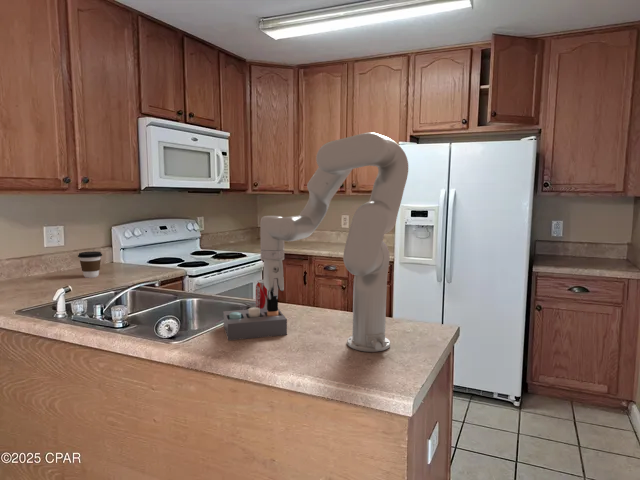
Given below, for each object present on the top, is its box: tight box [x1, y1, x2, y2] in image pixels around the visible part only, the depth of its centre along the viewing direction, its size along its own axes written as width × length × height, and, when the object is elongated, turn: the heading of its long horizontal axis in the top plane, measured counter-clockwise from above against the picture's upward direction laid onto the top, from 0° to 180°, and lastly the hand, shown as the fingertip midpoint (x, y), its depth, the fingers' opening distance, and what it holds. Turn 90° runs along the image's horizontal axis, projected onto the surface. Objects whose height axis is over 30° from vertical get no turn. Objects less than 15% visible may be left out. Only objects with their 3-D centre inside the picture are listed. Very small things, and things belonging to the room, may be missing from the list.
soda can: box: [255, 278, 267, 309], centre depth 159 cm, size 7×7×12 cm
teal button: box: [229, 312, 241, 319], centre depth 138 cm, size 4×4×3 cm
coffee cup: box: [77, 251, 103, 279], centre depth 220 cm, size 11×11×12 cm
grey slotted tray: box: [222, 308, 288, 341], centre depth 140 cm, size 14×18×5 cm
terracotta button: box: [267, 311, 278, 316], centre depth 141 cm, size 4×4×3 cm
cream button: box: [248, 307, 260, 318], centre depth 140 cm, size 4×4×3 cm
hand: (272, 310), depth 141 cm, fingers closed
